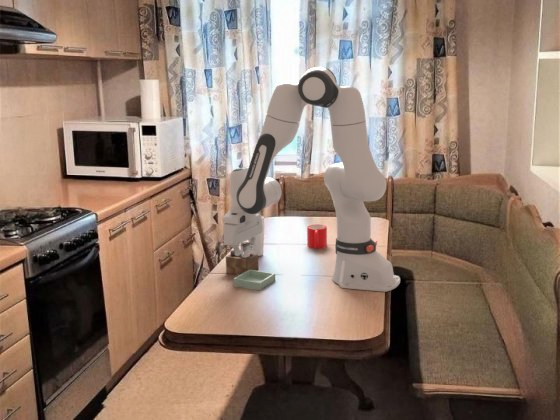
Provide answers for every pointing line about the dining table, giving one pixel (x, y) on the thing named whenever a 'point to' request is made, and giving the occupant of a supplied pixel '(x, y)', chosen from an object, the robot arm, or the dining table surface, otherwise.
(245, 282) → the tray
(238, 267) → the tensioner block
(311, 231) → the mug
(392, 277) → the robot arm
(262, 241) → the white tall cup
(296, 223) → the dining table surface
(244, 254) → the pin
